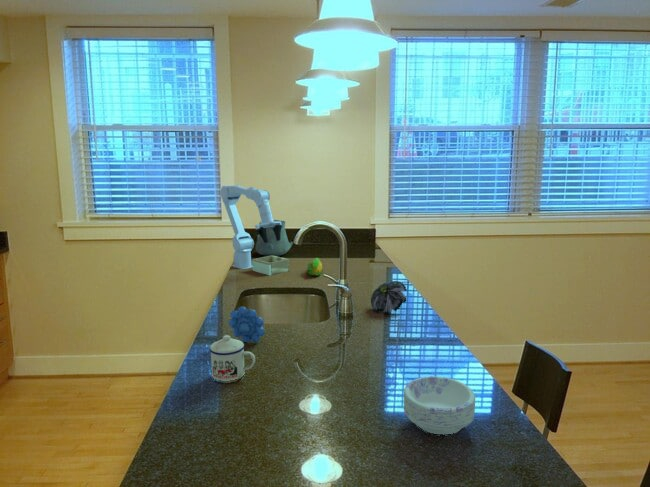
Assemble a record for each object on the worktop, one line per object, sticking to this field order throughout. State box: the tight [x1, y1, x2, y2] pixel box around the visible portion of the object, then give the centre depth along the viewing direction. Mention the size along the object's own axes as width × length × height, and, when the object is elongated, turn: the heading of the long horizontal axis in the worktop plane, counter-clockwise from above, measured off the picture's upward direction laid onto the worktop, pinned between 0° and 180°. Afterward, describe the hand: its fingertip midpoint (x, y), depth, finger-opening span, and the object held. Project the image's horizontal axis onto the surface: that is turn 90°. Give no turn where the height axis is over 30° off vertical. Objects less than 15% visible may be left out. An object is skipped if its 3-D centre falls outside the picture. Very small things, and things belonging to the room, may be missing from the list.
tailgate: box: [251, 258, 272, 276], centre depth 245 cm, size 14×1×6 cm, turn 44°
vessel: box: [255, 219, 293, 257], centre depth 289 cm, size 22×22×20 cm
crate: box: [255, 255, 290, 276], centre depth 249 cm, size 14×11×7 cm
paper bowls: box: [403, 375, 476, 435], centre depth 108 cm, size 15×15×8 cm
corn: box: [306, 257, 323, 277], centre depth 245 cm, size 7×8×20 cm
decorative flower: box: [370, 280, 408, 316], centre depth 188 cm, size 14×12×15 cm
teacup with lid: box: [209, 334, 256, 381], centre depth 132 cm, size 12×9×12 cm
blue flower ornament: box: [228, 306, 266, 343], centre depth 155 cm, size 12×7×12 cm, turn 84°
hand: (272, 241), depth 240 cm, fingers open, 7 cm apart
